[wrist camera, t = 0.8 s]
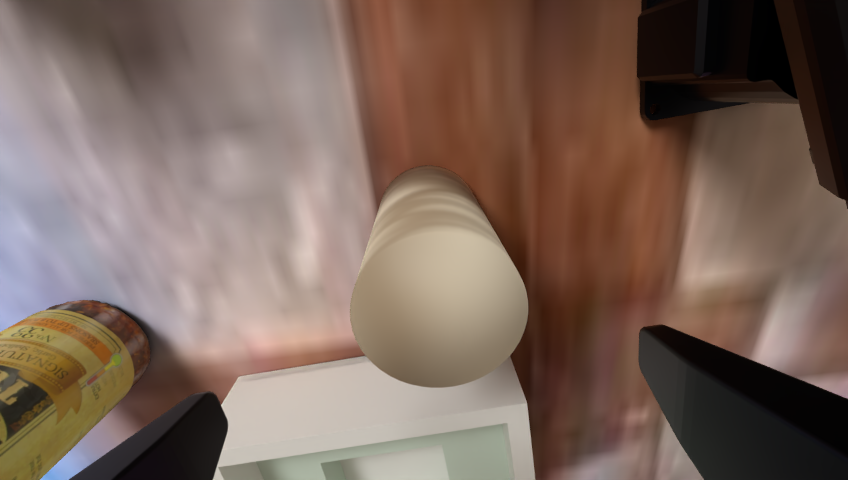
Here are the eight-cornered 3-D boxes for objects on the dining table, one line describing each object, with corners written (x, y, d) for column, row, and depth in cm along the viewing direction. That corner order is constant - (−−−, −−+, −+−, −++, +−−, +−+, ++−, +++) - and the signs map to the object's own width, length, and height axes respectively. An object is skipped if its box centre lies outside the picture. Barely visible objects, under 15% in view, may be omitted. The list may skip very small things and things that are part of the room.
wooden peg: (469, 157, 19) (520, 216, 10) (481, 249, 21) (535, 373, 12) (370, 175, 20) (329, 250, 10) (390, 265, 21) (371, 399, 12)
